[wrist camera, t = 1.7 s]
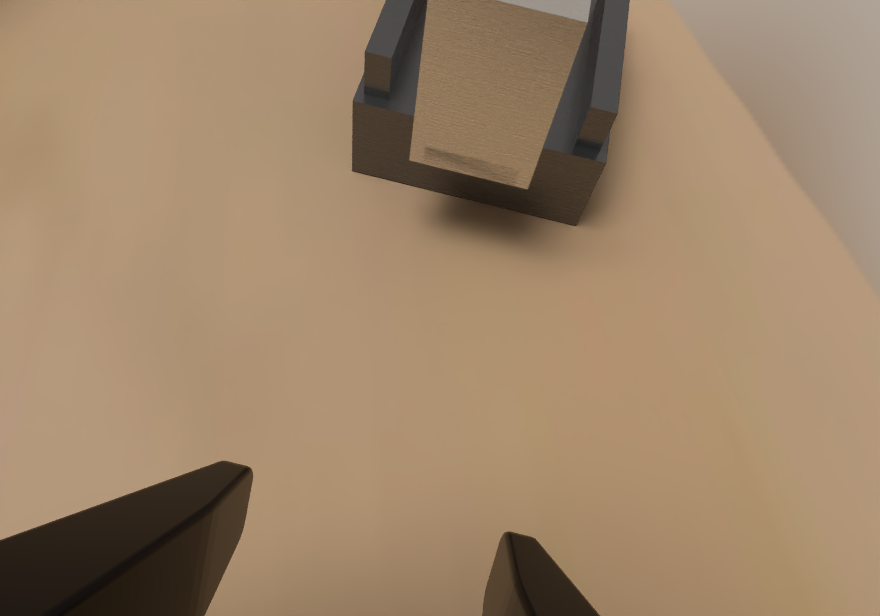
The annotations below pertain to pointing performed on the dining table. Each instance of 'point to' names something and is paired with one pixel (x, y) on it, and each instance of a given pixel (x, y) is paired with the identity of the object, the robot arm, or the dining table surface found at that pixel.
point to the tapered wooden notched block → (493, 83)
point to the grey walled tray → (567, 143)
